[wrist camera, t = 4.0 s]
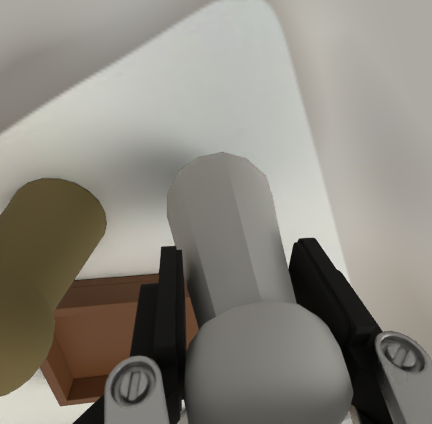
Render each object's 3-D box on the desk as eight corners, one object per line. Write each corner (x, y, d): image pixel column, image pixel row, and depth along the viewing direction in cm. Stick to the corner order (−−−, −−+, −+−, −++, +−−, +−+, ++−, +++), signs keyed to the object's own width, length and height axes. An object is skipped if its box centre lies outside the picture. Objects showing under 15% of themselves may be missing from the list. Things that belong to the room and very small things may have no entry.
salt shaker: (204, 238, 19) (236, 498, 8) (147, 178, 17) (86, 451, 6) (277, 192, 18) (427, 428, 7) (228, 119, 15) (354, 321, 4)
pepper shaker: (123, 233, 20) (80, 390, 11) (53, 264, 21) (-45, 439, 12) (69, 162, 17) (-54, 297, 8) (-12, 201, 18) (-215, 370, 9)
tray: (273, 264, 24) (284, 288, 22) (259, 353, 30) (267, 380, 28) (28, 284, 22) (10, 313, 19) (69, 376, 28) (59, 406, 26)
